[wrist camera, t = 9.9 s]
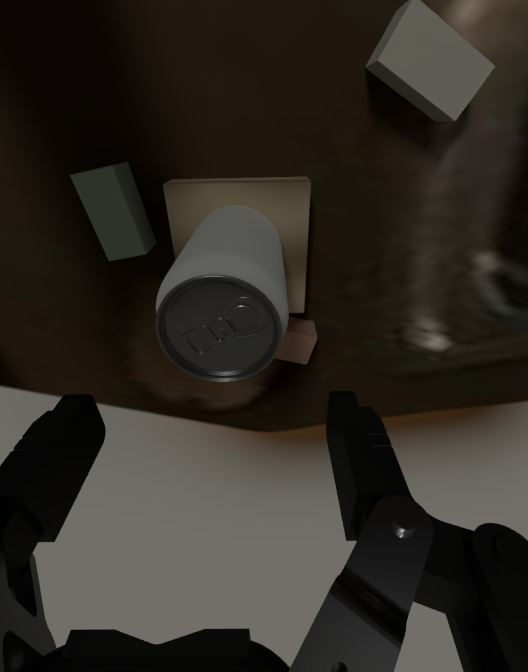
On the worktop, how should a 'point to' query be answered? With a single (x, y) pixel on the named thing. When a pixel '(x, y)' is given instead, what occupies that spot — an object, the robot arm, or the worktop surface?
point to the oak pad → (258, 193)
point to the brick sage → (115, 210)
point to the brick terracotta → (297, 341)
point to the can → (225, 298)
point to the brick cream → (428, 62)
